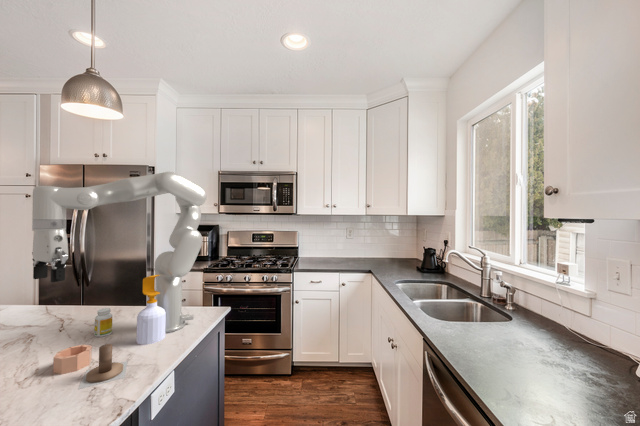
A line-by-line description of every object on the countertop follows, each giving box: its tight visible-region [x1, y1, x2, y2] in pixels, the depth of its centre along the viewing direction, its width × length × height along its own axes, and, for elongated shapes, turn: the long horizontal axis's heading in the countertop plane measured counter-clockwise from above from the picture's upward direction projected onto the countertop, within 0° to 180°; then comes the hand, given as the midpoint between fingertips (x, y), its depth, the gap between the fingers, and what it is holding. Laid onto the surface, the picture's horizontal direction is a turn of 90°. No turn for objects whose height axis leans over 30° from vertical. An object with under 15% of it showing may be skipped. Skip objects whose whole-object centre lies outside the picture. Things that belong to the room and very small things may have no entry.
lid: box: [86, 343, 123, 383], centre depth 77 cm, size 8×8×8 cm
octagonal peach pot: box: [52, 344, 93, 375], centre depth 81 cm, size 8×8×5 cm
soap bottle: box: [136, 275, 166, 346], centre depth 99 cm, size 9×9×25 cm
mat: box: [77, 360, 129, 390], centre depth 77 cm, size 10×10×1 cm
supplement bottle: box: [93, 307, 113, 338], centre depth 104 cm, size 5×5×10 cm
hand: (48, 279), depth 83 cm, fingers open, 9 cm apart
